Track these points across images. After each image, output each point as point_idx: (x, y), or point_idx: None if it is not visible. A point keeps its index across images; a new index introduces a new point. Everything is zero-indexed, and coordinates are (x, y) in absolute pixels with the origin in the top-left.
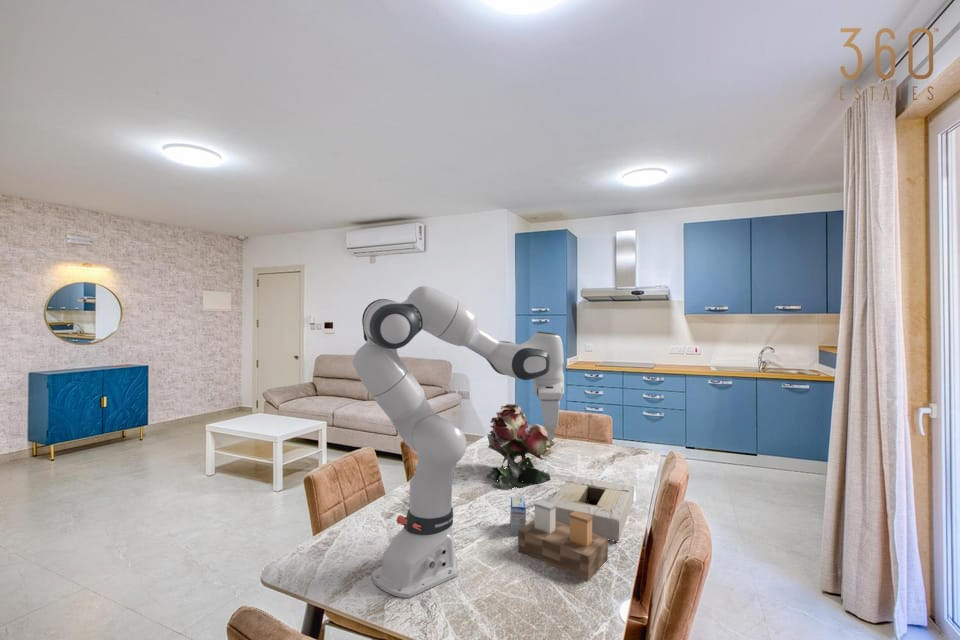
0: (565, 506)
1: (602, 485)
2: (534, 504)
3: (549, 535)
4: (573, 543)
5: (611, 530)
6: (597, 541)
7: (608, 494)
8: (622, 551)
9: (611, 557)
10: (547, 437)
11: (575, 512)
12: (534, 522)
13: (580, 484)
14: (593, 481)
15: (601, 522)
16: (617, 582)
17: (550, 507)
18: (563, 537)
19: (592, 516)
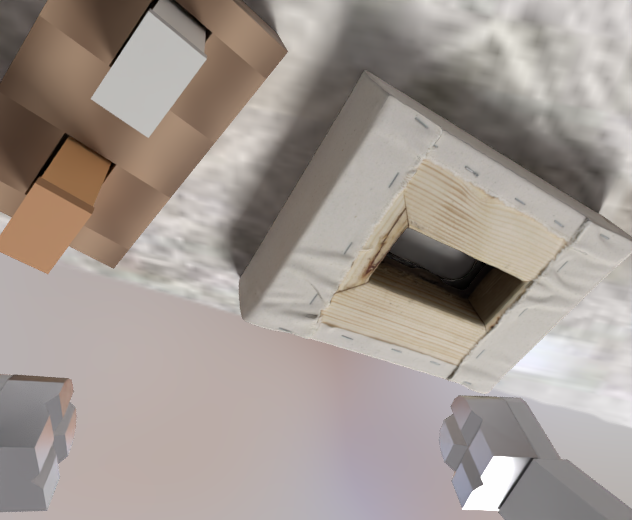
0: (363, 177)
1: (513, 324)
2: (148, 11)
3: (89, 58)
4: (38, 148)
5: (250, 281)
6: (82, 234)
7: (441, 328)
8: (189, 276)
9: (148, 242)
10: (3, 383)
11: (69, 213)
12: (215, 5)
13: (547, 263)
14: (550, 306)
15: (269, 268)
16: (2, 228)
17: (104, 101)
18: (84, 117)
19: (45, 272)
